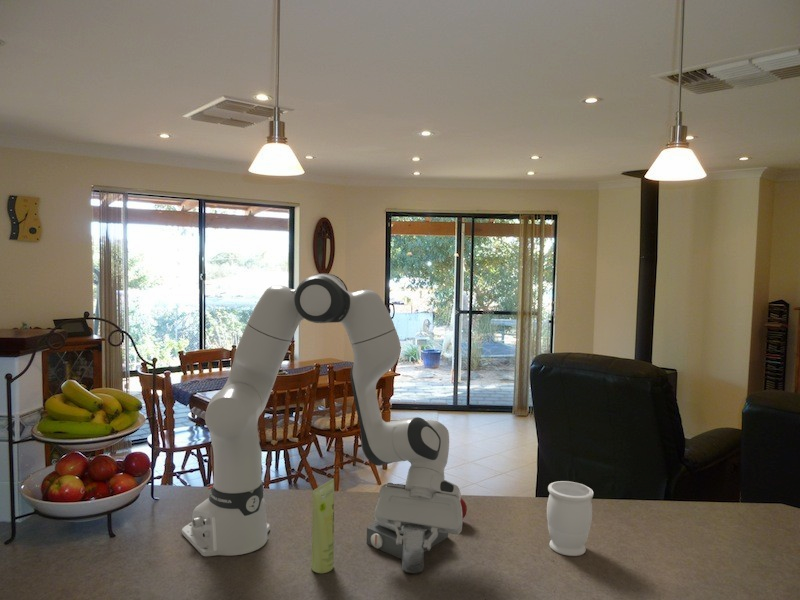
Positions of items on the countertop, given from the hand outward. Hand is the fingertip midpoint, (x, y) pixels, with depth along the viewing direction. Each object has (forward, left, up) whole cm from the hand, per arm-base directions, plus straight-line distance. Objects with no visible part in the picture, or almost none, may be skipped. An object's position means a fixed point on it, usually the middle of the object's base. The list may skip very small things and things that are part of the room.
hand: (412, 547), depth 130 cm
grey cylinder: (0, +1, -5) cm, 5 cm away
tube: (-16, -12, -6) cm, 21 cm away
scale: (-10, +11, -6) cm, 16 cm away
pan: (-10, +11, -1) cm, 14 cm away
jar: (+22, +34, -6) cm, 41 cm away
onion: (-6, +27, -6) cm, 28 cm away
